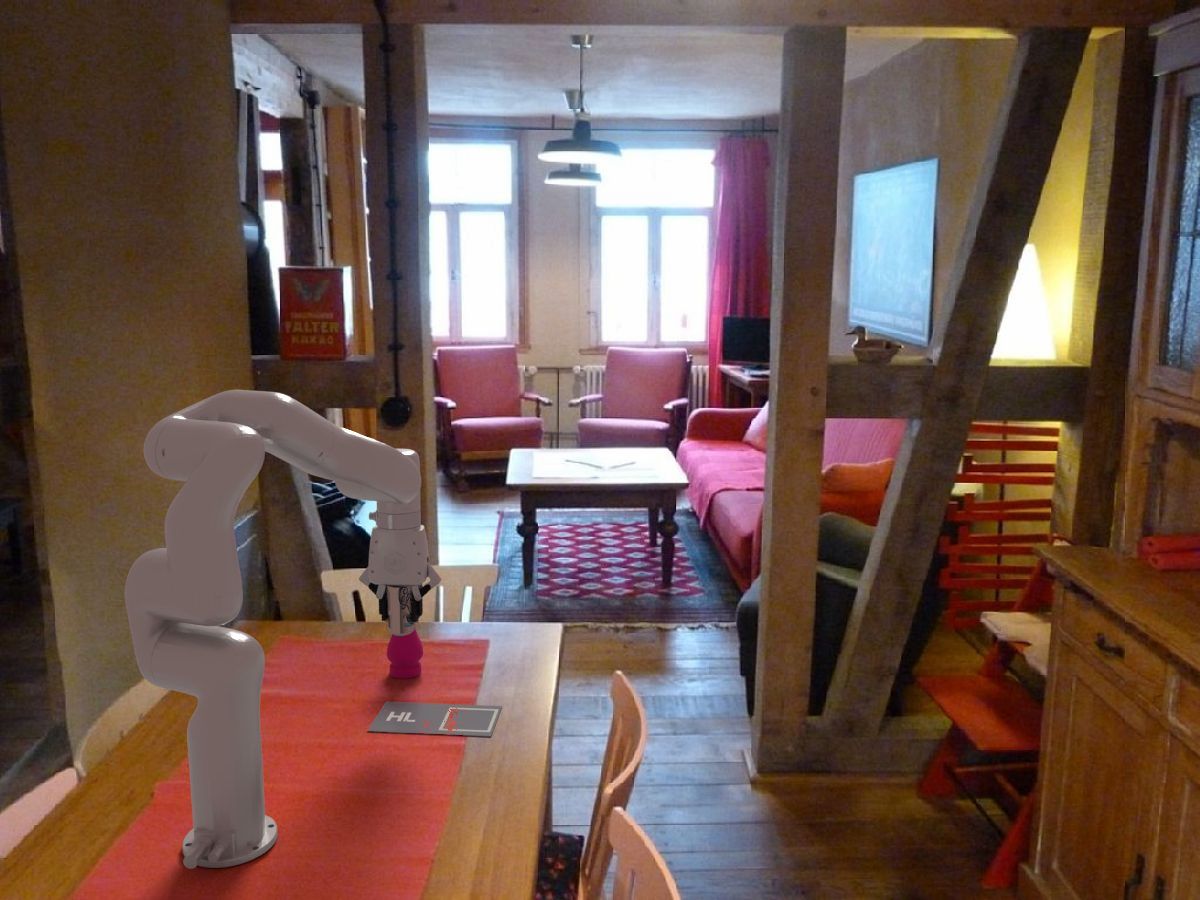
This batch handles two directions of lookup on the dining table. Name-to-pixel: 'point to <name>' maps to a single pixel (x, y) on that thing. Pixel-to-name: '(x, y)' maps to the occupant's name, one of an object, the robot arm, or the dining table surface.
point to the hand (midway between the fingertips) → (401, 617)
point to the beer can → (399, 610)
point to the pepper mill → (405, 655)
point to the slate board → (436, 719)
